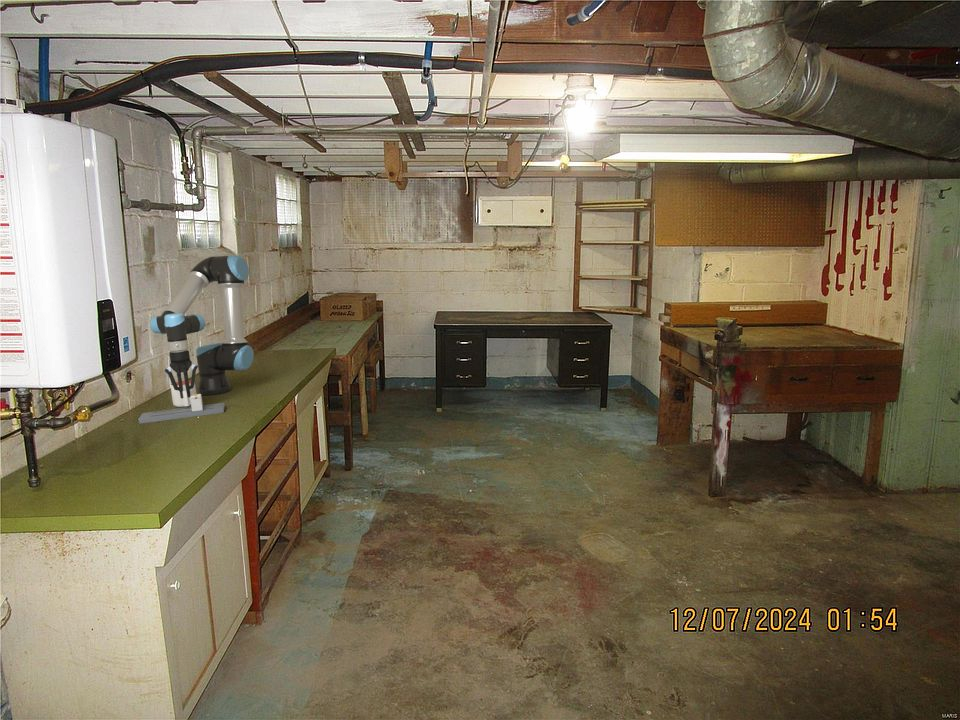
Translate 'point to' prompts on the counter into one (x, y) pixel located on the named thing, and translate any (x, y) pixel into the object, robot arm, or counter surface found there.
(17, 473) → the counter surface
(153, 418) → the console
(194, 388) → the cup
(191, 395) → the fader
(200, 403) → the fader
